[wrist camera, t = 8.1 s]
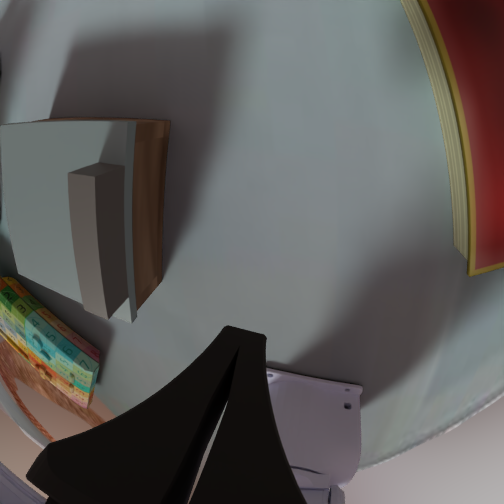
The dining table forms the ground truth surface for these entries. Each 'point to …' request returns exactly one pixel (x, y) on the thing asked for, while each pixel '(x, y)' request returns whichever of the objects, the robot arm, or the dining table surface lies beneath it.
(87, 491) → the robot arm
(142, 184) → the box
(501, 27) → the hardcover book
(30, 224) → the lid
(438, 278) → the dining table surface
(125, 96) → the dining table surface
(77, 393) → the puzzle game
